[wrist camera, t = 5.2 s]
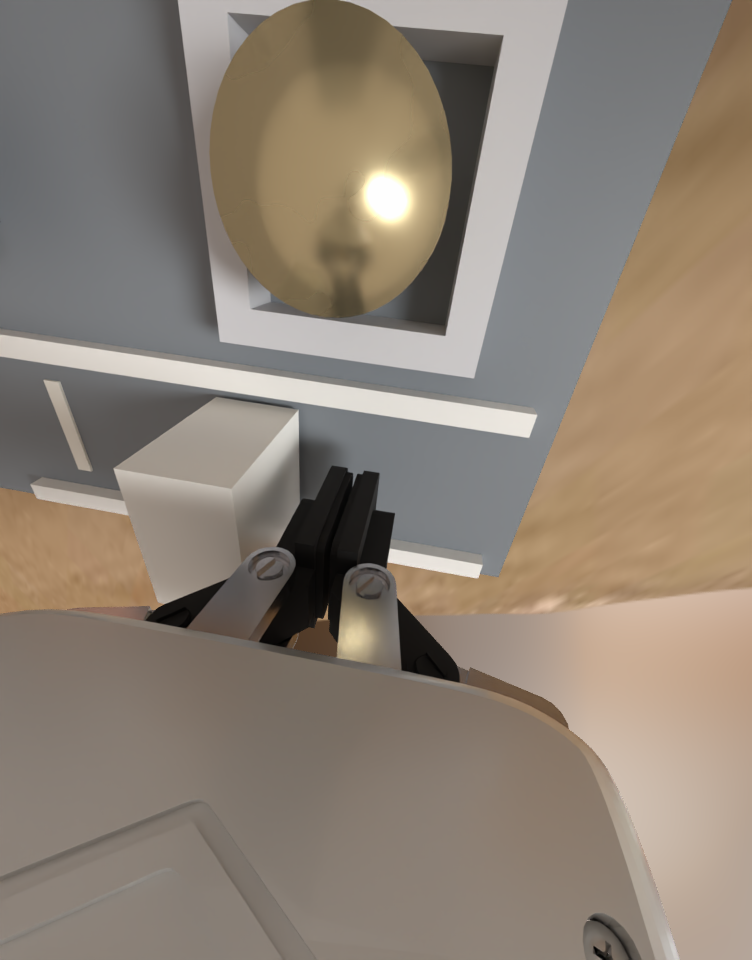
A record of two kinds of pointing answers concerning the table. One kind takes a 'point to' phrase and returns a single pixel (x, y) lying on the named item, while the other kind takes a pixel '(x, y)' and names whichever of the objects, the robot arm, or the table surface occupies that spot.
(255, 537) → the white slider block
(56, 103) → the control panel
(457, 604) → the table surface
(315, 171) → the push button
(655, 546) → the table surface
